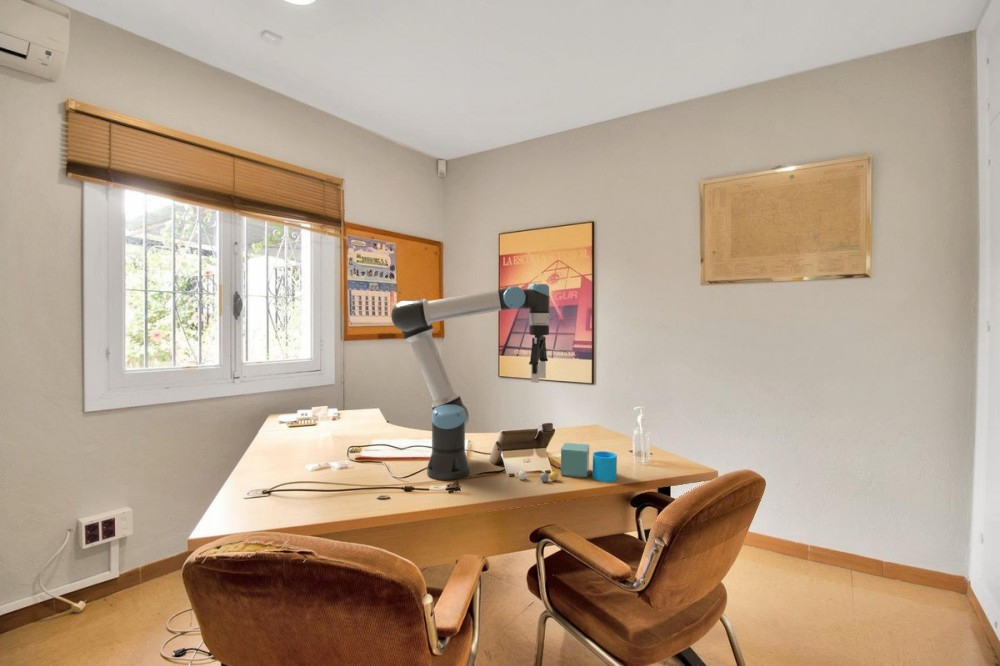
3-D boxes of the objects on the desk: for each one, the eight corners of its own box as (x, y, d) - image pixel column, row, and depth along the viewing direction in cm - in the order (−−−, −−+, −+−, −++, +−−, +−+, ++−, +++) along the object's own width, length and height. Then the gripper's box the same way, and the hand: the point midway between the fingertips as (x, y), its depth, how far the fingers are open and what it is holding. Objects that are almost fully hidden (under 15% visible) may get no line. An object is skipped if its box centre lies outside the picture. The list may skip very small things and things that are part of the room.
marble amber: (547, 480, 160) (548, 476, 158) (550, 472, 162) (551, 468, 159) (556, 483, 159) (556, 479, 157) (558, 475, 161) (559, 472, 159)
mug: (619, 481, 159) (619, 458, 158) (595, 482, 158) (596, 458, 158) (609, 470, 171) (610, 448, 170) (587, 470, 170) (588, 448, 170)
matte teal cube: (560, 474, 164) (561, 449, 164) (564, 466, 173) (564, 442, 173) (586, 477, 162) (587, 451, 161) (588, 469, 170) (589, 444, 170)
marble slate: (538, 481, 159) (539, 479, 156) (540, 473, 161) (541, 470, 158) (547, 484, 158) (547, 481, 156) (549, 475, 160) (549, 472, 157)
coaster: (559, 476, 164) (559, 474, 164) (563, 467, 174) (563, 466, 173) (588, 479, 161) (588, 477, 161) (590, 469, 171) (590, 468, 171)
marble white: (515, 477, 159) (519, 469, 159) (517, 476, 162) (520, 468, 162) (523, 481, 158) (527, 473, 158) (525, 480, 161) (528, 472, 161)
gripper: (542, 325, 165) (542, 385, 166) (554, 324, 189) (553, 376, 189) (522, 325, 167) (521, 384, 168) (536, 324, 191) (535, 375, 192)
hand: (538, 380), depth 179 cm, fingers open, 13 cm apart
